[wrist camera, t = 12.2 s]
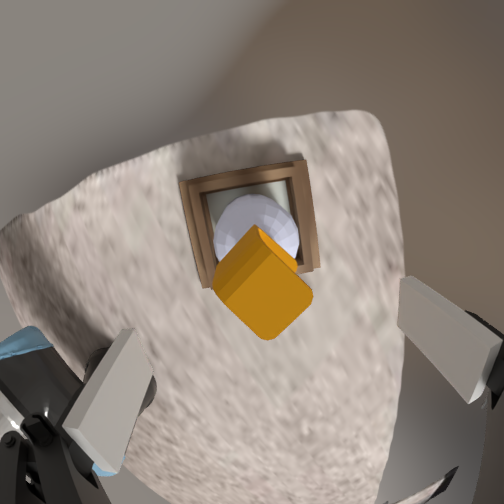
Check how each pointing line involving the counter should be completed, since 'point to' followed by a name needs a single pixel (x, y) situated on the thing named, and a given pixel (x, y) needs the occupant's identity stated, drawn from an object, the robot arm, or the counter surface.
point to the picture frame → (240, 183)
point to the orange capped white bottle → (259, 265)
